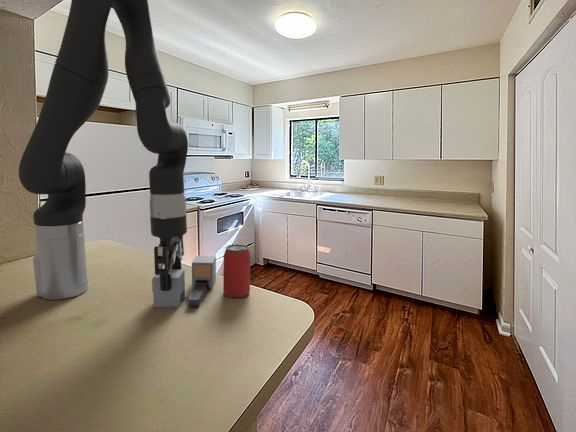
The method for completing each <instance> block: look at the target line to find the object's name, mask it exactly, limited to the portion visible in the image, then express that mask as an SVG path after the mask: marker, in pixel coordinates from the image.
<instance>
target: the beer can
mask: <svg viewBox="0 0 576 432" xmlns="http://www.w3.org/2000/svg"><path fill="white" fill-rule="evenodd" d="M251 259H252V258H251V254H250V250H249V246H247V245H245V244H229V245H227V246H225V250H224V254H223V278H222V279H223V283H222V284H223V285H222V286H223V287H222V288H223V294H224V295H225V296H226V297H229V298H231V299H232V298H233V299H234V298H235V299H238V298H239V299H240V298H245V297H246V296H247V295H248V294H249V293H250V292H251V261H252V260H251Z"/></svg>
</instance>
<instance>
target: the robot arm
mask: <svg viewBox="0 0 576 432" xmlns="http://www.w3.org/2000/svg"><path fill="white" fill-rule="evenodd" d="M149 6H150V5H149V0H71V3H70V7H69V14H68V16H67V21H66V23H65V24H66V25H65V29H64V32H63V37H62V40H61V43H60V48H59V51H58V53H57V56H56V59H55V62H54V64H53V65H54V66H53V69H52V71H51V76H50V79H49V83H48V88H47V92H46V94H45V97H44V101H43V103H42V106H41V110H40V111H39V116H38V118H37V121H36V123H35V126H34V128H33V132H32V133H31V136H30V138H29V140H28V142H27V144H26V147H25V149H24V152H23V154H22V156H21V159H20V160H19V161H20V162H19V165H18V178H19V182H20V183H21V185H22V187H23V188H24V189H25V190H26V191H27V192H28V193H31V194H33V195H47V199H46V201H45V202H44V203H43V204H42V205H41V206H39V208H37V209H36V210H34V212H33V216H32V217H33V226H34V234H35V236H34V237H35V243H36V244H35V245H36V255H35V256H34V257H32V262H33V272H34V281H35V291H36V297H38V298H43V299H45V300H51V301H53V300H64V299H70V298H73V297H77V296H80V295H81V294H84V293H85V292H87V291H88V289H89V287H88V286H89V285H88V284H89V283H88V282H89V281H88V271H87V269H88V267H87V255H86V243H85V231H84V217H83V216H84V212H85V209H86V205H87V204H86V203H87V199H86V198H87V197H86V196H87V195H86V189H87V188H86V173H85V169H84V165H83V164H82V162H81V160H80V159H79V158H78V157H77V156H76V155H74V154H72V153H70V152H67V149H68V146H69V143H70V142H71V140H72V138H73V136H75V134H76V132H77V131H79V129H80V128H81V127H82V126H83V125H84V124H85V123H86V122H87V121H89V119H90V118H91V117H92V116H93V115H94V113H95V112H96V111H97V110H98V108H99V106H100V104H101V102H102V99H103V96H104V93H105V90H106V87H107V83H108V81H109V60H108V54H107V45H106V44H107V43H106V27H107V23H108V20H109V16H110V12H111V9H113V11H114V13H115V14H116V16H117V18H118V21H119V23H120V25H121V27H122V28H121V29H122V30H123V34H124V39H125V52H124V69H125V73H126V74H125V75H126V77H127V81H128V85H129V88H130V90H131V94H132V96H133V100H134V103H135V116H136V117H135V118H136V129H137V135H138V138H139V140H140V142H141V144H142V146H143V147H144V148H145V149H146V150H147V151H148V152H150V153H153V154H155V155H156V154H158V155H157V163H156V165H154V166H152V167H151V168H150V170H149V173H148V180H149V218H150V219H149V221H150V233H151V236H153V237H155V238H159V244H158V246H156V245H155V246H154V248H153V253H154V254H153V255H154V256H153V257H154V260H153V261H154V275H160V289H161V291H170V290H171V289H172V280H171V270H172V269H178V270H182V260H183V256H184V255H185V251H184V250H185V249H184V235H186V233H188V230H187V229H188V227H187V226H188V224H187V221H188V220H187V202H186V195H185V180H184V179H185V178H184V171H185V167H186V162H187V157H188V149H189V141H188V140H189V139H188V136H187V132H186V130H185V129H184V127H183V126H182V125H181V124H179V123H177V122H174V121H170V120H169V119H168V116H167V111H166V109H167V108H169V107H170V105H171V96H170V92H169V88H168V86H167V82H166V79H165V75H164V73H163V69H162V66H161V62H160V59H159V56H158V52H157V48H156V44H155V43H156V41H155V37H154V32H153V26H152V20H151V14H150V7H149ZM163 267H164V268H163Z"/></svg>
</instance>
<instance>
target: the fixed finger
mask: <svg viewBox="0 0 576 432" xmlns="http://www.w3.org/2000/svg"><path fill="white" fill-rule="evenodd" d="M216 257H217V256H216V255H196V256H195V257H194V259H193V260H192V261H191V288H192V290H193V289H194V287H195V285H196V283H197V281H198V280H209V286H208V289H209V290H210V289H214V286H215V284H216V281H217V258H216Z"/></svg>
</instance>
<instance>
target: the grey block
mask: <svg viewBox="0 0 576 432" xmlns="http://www.w3.org/2000/svg"><path fill="white" fill-rule="evenodd" d="M185 271H186V270H185V269H181V270H178V269H172V270H171V280H172V289H171V290H170V291H161V289H160V275H155V274H154V275H153V277H152V278H151V290H152V291H151V292H152V296H153V308H180V307H181V300H184V299H185V298H186V289H185V287H186V286H185V285H186V283H185V280H186V279H185V277H186V276H185Z"/></svg>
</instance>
